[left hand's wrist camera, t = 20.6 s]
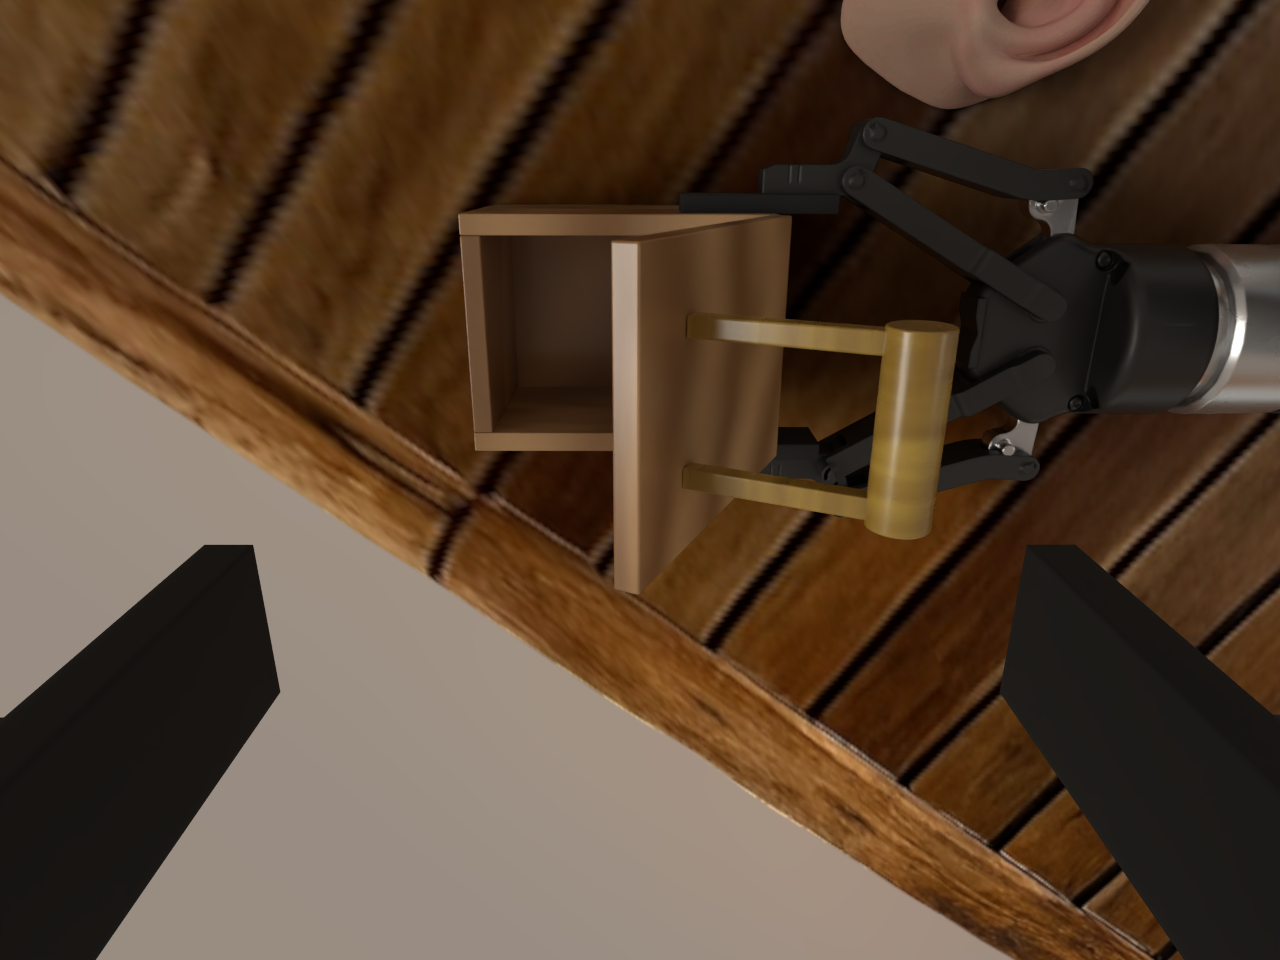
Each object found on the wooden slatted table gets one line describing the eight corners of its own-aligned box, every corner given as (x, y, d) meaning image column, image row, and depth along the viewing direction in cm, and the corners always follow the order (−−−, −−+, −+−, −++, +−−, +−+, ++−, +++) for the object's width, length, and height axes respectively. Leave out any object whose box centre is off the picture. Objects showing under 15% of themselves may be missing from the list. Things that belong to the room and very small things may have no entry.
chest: (506, 397, 45) (475, 451, 37) (494, 204, 41) (457, 213, 33) (741, 397, 45) (765, 451, 37) (750, 205, 42) (780, 214, 33)
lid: (613, 590, 24) (902, 658, 21) (609, 239, 21) (957, 254, 18) (758, 453, 36) (958, 483, 33) (771, 214, 33) (998, 220, 29)
